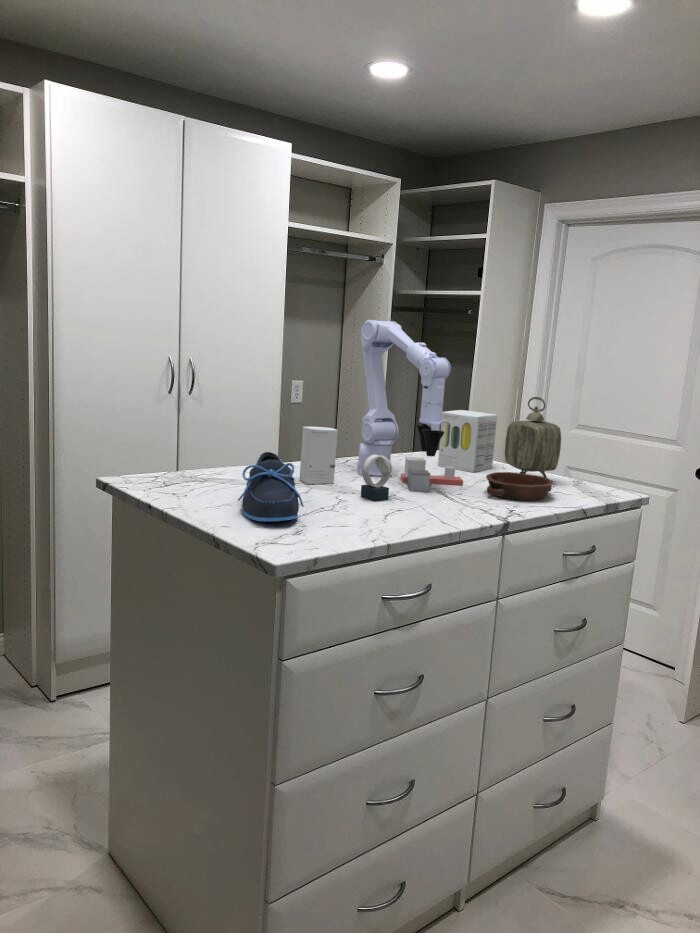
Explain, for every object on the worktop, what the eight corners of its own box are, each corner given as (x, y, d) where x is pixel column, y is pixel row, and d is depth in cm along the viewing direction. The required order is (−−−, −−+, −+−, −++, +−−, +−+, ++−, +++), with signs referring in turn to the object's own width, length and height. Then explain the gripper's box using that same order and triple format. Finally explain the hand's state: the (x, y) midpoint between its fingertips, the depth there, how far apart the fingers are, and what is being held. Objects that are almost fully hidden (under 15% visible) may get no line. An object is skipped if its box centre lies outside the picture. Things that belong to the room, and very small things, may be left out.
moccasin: (243, 529, 155) (245, 473, 153) (225, 491, 188) (226, 444, 186) (309, 529, 159) (313, 473, 157) (280, 492, 191) (282, 445, 189)
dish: (465, 491, 206) (466, 473, 205) (523, 486, 218) (524, 469, 217) (511, 506, 192) (513, 487, 191) (570, 500, 204) (572, 482, 203)
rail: (402, 482, 212) (404, 459, 211) (400, 479, 217) (402, 456, 216) (462, 485, 213) (464, 462, 212) (459, 481, 218) (461, 459, 217)
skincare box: (306, 484, 201) (309, 429, 199) (298, 479, 207) (301, 425, 204) (335, 483, 205) (338, 429, 202) (327, 479, 210) (330, 425, 207)
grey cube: (410, 491, 201) (411, 472, 200) (407, 487, 206) (408, 469, 205) (428, 492, 201) (430, 473, 201) (425, 488, 206) (427, 470, 205)
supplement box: (436, 466, 241) (440, 411, 238) (456, 462, 252) (461, 409, 248) (473, 473, 233) (478, 416, 230) (493, 468, 244) (498, 414, 241)
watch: (393, 499, 190) (397, 456, 188) (369, 502, 185) (372, 458, 183) (378, 494, 195) (381, 452, 193) (354, 497, 189) (357, 454, 187)
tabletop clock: (556, 485, 222) (566, 400, 218) (533, 487, 218) (543, 399, 213) (521, 475, 234) (530, 394, 230) (499, 476, 230) (507, 394, 225)
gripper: (452, 407, 195) (448, 459, 198) (441, 401, 210) (437, 449, 212) (425, 405, 195) (421, 457, 197) (416, 399, 209) (412, 448, 211)
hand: (428, 453), depth 204 cm, fingers open, 7 cm apart
